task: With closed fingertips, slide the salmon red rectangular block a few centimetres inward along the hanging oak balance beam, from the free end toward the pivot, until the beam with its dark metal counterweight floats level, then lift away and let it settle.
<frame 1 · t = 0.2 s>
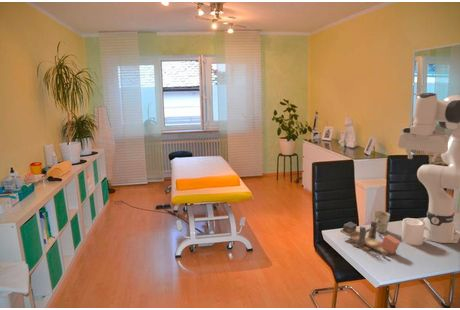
hand: (420, 160, 158), 47 cm above the table, fingers open, 8 cm apart
mug 2: (414, 241, 183), on the table
stand: (367, 244, 180), on the table
salmon red rectangular block: (388, 248, 171), point 2 cm above the table, tilted 16°, touching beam
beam: (367, 235, 179), point 5 cm above the table, hinge at 7.0°, touching salmon red rectangular block
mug: (379, 232, 195), on the table
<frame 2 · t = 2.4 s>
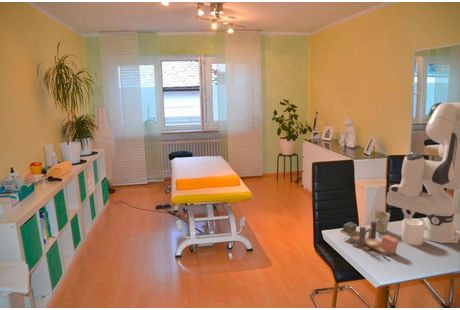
hand: (408, 218, 161), 20 cm above the table, fingers closed
salmon red rectangular block: (388, 249, 171), point 2 cm above the table, tilted 7°, touching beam
everything else where it was.
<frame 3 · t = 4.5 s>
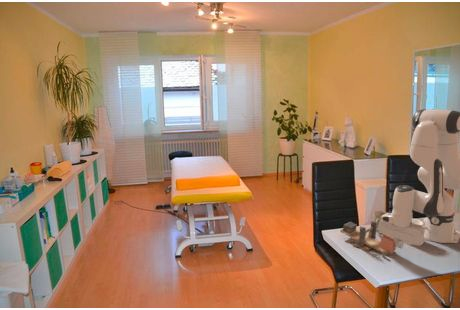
hand: (399, 247, 167), 5 cm above the table, fingers closed
salmon red rectangular block: (387, 248, 172), point 2 cm above the table, tilted 7°, touching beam, gripper
everything else where it was.
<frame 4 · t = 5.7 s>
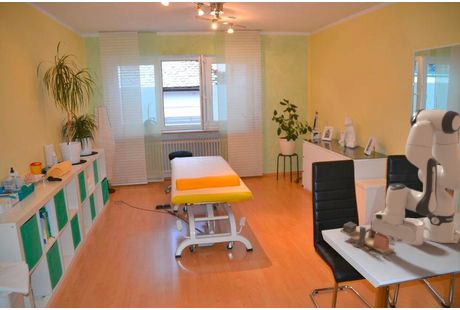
hand: (391, 244, 169), 5 cm above the table, fingers closed
salmon red rectangular block: (380, 246, 174), point 2 cm above the table, tilted 7°, touching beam, gripper
everything else where it was.
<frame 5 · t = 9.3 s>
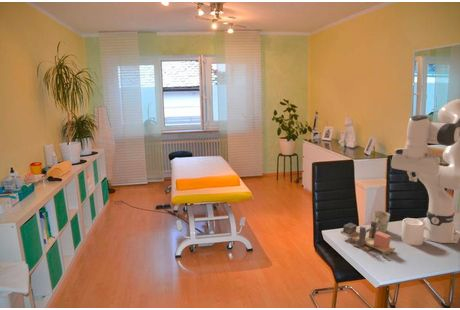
hand: (413, 181, 161), 37 cm above the table, fingers closed
salmon red rectangular block: (381, 245, 174), point 3 cm above the table, touching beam
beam: (367, 235, 179), point 5 cm above the table, hinge at 4.3°, touching salmon red rectangular block
everything else where it was.
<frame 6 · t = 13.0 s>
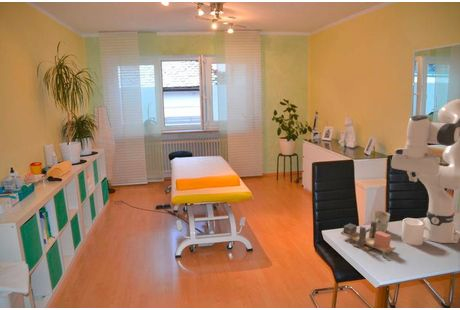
hand: (413, 181, 161), 37 cm above the table, fingers closed
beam: (367, 235, 179), point 5 cm above the table, hinge at 2.4°, touching salmon red rectangular block
everything else where it was.
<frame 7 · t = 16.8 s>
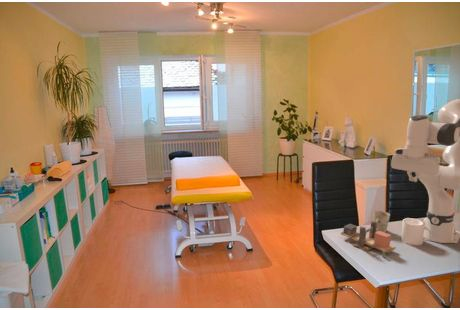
hand: (413, 181, 161), 37 cm above the table, fingers closed
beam: (367, 235, 179), point 5 cm above the table, hinge at 1.5°, touching salmon red rectangular block
everything else where it was.
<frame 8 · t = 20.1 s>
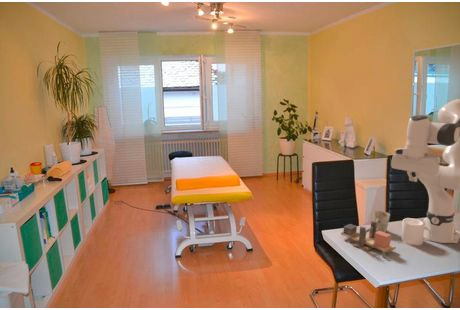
hand: (413, 181, 161), 37 cm above the table, fingers closed
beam: (367, 235, 179), point 5 cm above the table, hinge at 1.2°, touching salmon red rectangular block
everything else where it was.
at the end: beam at +1° (first picture: +7°); salmon red rectangular block inside the target area under the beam (0.5 cm from its centre), point -5.1 cm above the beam's base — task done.
